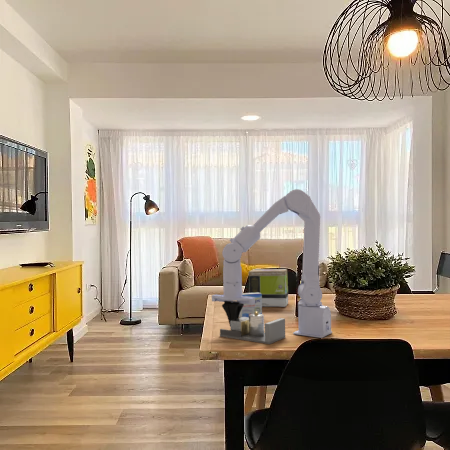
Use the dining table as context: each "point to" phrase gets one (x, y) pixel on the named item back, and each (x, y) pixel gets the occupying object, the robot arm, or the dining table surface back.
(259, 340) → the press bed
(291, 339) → the dining table surface
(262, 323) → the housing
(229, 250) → the robot arm
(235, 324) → the block
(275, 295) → the tea box
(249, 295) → the medicine box
